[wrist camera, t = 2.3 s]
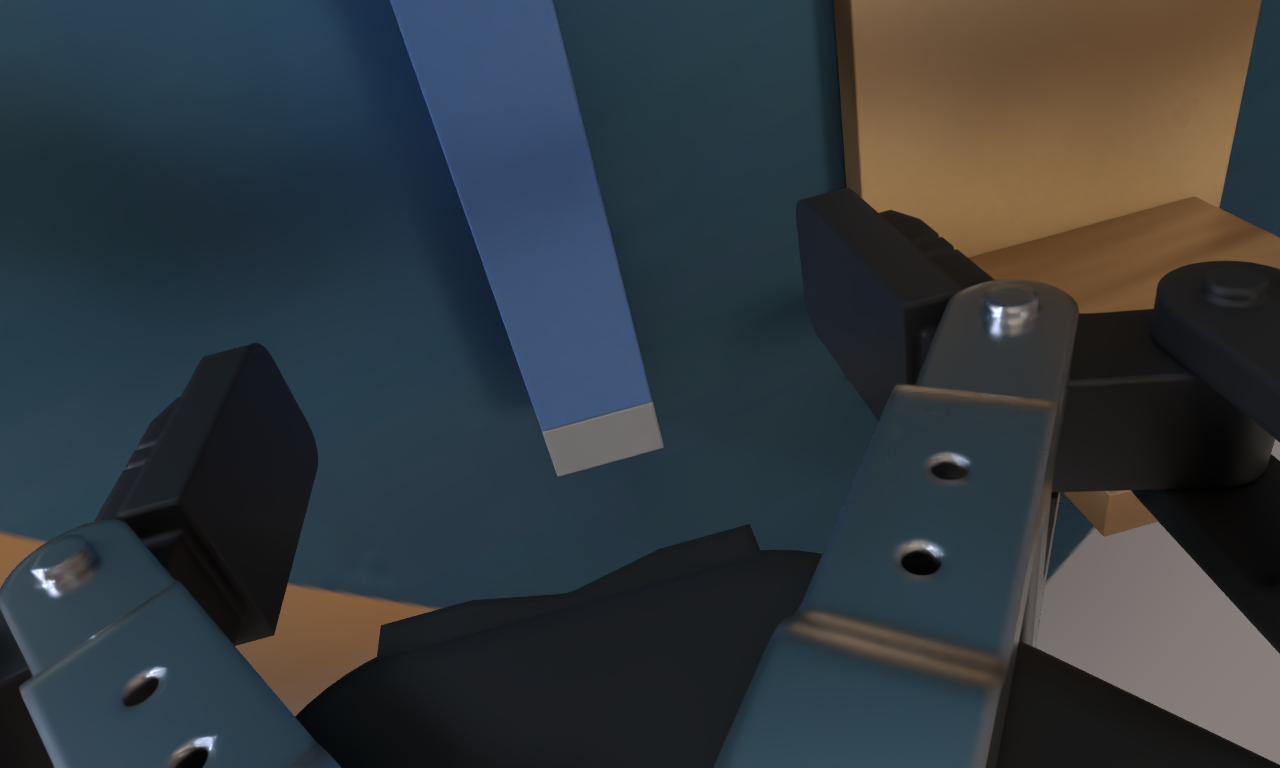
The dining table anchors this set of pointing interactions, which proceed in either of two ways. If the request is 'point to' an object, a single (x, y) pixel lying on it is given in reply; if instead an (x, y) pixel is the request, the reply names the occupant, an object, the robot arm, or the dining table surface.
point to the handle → (536, 217)
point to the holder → (1055, 142)
